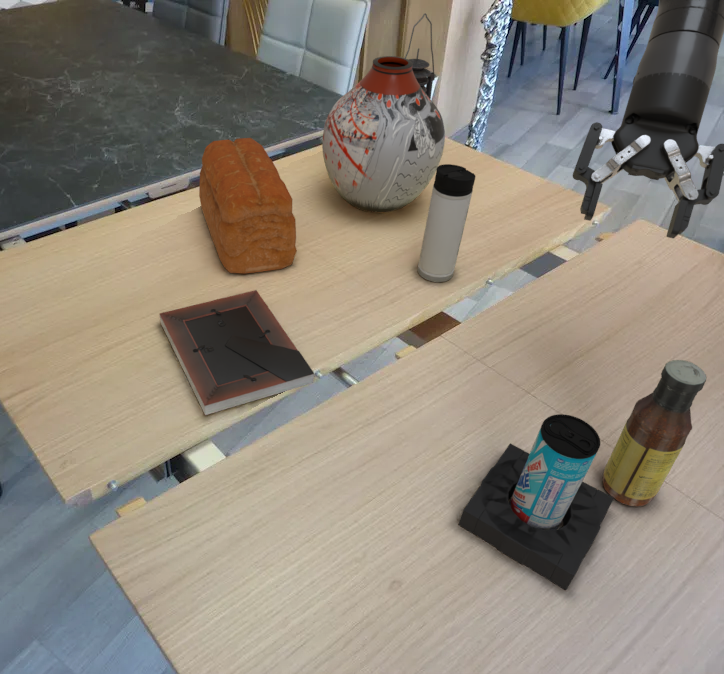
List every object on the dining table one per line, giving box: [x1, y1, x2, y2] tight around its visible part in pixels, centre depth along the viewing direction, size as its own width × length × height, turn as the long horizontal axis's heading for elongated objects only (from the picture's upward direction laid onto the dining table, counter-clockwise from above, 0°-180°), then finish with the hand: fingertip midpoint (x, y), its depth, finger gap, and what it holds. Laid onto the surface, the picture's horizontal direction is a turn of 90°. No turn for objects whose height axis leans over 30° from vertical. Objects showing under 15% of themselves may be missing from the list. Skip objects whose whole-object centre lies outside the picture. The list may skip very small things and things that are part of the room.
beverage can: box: [508, 413, 601, 530], centre depth 75 cm, size 6×6×15 cm
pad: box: [458, 443, 615, 591], centre depth 79 cm, size 13×13×3 cm
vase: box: [321, 55, 446, 214], centre depth 128 cm, size 23×23×28 cm
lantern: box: [404, 13, 436, 100], centre depth 146 cm, size 12×11×30 cm
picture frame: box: [158, 289, 315, 416], centre depth 100 cm, size 16×2×22 cm
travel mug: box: [417, 163, 476, 283], centre depth 112 cm, size 6×7×20 cm
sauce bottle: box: [602, 359, 707, 508], centre depth 77 cm, size 6×6×20 cm
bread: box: [198, 137, 298, 275], centre depth 122 cm, size 14×27×15 cm, turn 15°
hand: (629, 227), depth 73 cm, fingers open, 8 cm apart
